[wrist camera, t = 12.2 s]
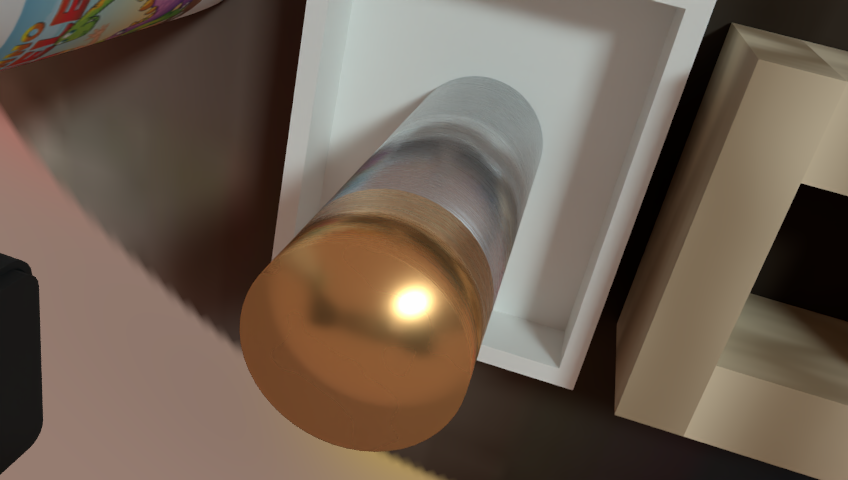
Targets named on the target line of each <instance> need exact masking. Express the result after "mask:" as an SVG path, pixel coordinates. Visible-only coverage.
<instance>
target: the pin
mask: <svg viewBox="0 0 848 480" xmlns="http://www.w3.org/2000/svg"><path fill="white" fill-rule="evenodd" d="M542 150H543V135H542V130H541V126H540V123H539V120H538V117H537V115H536V113H535V111H534V109H533V108H532V106H531V105H530V103H529V102H528V101H527V100H526V99H525V98H524V97H523V96H522V95H521V94H520V93H519V92H518V91H517V90H515V89H514V88H512V87H511V86H509V85H507V84H505V83H503V82H501V81H499V80H496V79H493V78H488V77H482V76H467V77H461V78H457V79H454V80H451V81H448V82H446V83H444V84H442V85H441V86H439V87H438V88H436V89H435V90H434V91H433V92H432V93H430V94H429V95H428V96H427V97H426V98H425V100H424V101H423V102H422V103H421V104H420V105H419V106H418V107H417V108H416V109H415V110H414V111H413V112H412V113H411V114H410V115H409V116H408V118H407V119H406V120H405V121H404V122H403V123H402V124H401V125H400V126H399V127H398V128H397V129H396V130H395V131H394V132H393V133H392V134H391V136H390V137H389V138H388V139H387V140H386V141H385V142H384V143H383V144H382V145H381V146H380V147H379V148H378V149H377V150H376V151H375V152H374V154H373V155H372V156H371V157H370V158H369V159H368V160H367V161H366V162H365V163H364V164H363V165H362V166H361V167H360V168H359V169H358V170H357V172H356V173H355V174H354V175H353V176H352V177H351V178H350V179H349V180H348V181H347V182H346V183H345V184H344V185H343V186H342V187H341V188H340V190H339V191H338V192H337V193H336V194H335V195H334V196H333V197H332V198H331V199H330V200H329V201H328V202H327V203H326V204H325V205H324V206H323V208H322V209H321V210H320V211H319V212H318V213H317V214H316V215H315V216H314V217H313V218H312V219H311V220H310V221H309V222H308V223H307V225H306V226H305V227H304V228H303V229H302V230H301V231H300V232H299V233H298V234H297V235H296V236H295V237H294V238H293V239H292V240H291V241H290V243H289V244H288V245H287V246H286V247H285V248H284V249H283V250H282V251H281V252H280V253H279V254H278V255H277V256H276V257H275V258H274V259H273V261H272V262H271V263H270V264H269V265H268V266H267V267H266V268H265V269H264V270H263V271H262V272H261V273H260V275H259V276H258V277H257V278H256V280H255V281H254V282H253V284H252V286H251V287H250V289H249V291H248V293H247V295H246V298H245V300H244V303H243V306H242V311H241V316H240V340H241V347H242V351H243V355H244V359H245V361H246V364H247V367H248V369H249V371H250V373H251V375H252V377H253V379H254V381H255V383H256V384H257V386H258V387H259V389H260V390H261V392H262V393H263V395H264V396H265V397H266V398H267V400H268V401H269V402H270V403H271V404H272V405H273V406H274V407H275V408H276V409H277V410H278V411H279V412H280V413H281V414H282V415H283V416H284V417H285V418H287V419H288V420H289V421H290V422H292V423H293V424H294V425H296V426H297V427H299V428H300V429H302V430H304V431H305V432H307V433H309V434H311V435H312V436H314V437H317V438H318V439H321V440H323V441H326V442H328V443H331V444H333V445H337V446H340V447H344V448H348V449H354V450H359V451H373V452H379V451H392V450H398V449H403V448H406V447H410V446H413V445H416V444H418V443H420V442H422V441H425V440H427V439H428V438H430V437H431V436H433V435H435V434H436V433H438V432H439V431H440V430H441V429H442V428H443V427H445V426H446V425H447V424H448V423H449V421H450V420H451V419H452V418H453V417H454V415H455V414H456V413H457V411H458V409H459V407H460V406H461V404H462V402H463V399H464V397H465V394H466V391H467V388H468V385H469V382H470V379H471V376H472V373H473V370H474V367H475V363H476V360H477V357H478V354H479V351H480V348H481V345H482V342H483V338H484V335H485V332H486V329H487V326H488V323H489V320H490V317H491V313H492V310H493V307H494V304H495V301H496V298H497V295H498V292H499V288H500V285H501V282H502V279H503V276H504V273H505V270H506V267H507V263H508V260H509V257H510V254H511V251H512V248H513V245H514V242H515V238H516V235H517V232H518V229H519V226H520V223H521V220H522V217H523V213H524V210H525V207H526V204H527V201H528V198H529V195H530V192H531V188H532V185H533V182H534V179H535V176H536V173H537V170H538V167H539V163H540V160H541V156H542Z"/></svg>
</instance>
